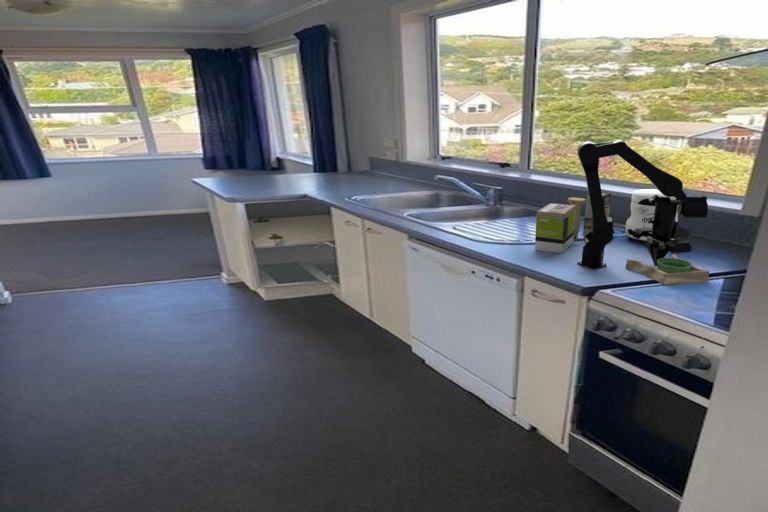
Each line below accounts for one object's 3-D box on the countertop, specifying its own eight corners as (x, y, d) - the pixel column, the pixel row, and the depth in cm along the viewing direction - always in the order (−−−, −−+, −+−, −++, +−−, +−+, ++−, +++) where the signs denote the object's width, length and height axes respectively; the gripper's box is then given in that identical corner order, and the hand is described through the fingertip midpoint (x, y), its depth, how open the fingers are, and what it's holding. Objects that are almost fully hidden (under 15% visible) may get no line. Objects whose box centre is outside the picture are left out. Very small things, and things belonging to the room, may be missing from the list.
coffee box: (598, 237, 184) (603, 196, 179) (582, 235, 188) (586, 194, 183) (607, 232, 190) (612, 192, 185) (591, 230, 194) (595, 191, 189)
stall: (624, 267, 151) (625, 258, 150) (673, 263, 153) (674, 254, 152) (659, 285, 136) (661, 275, 135) (713, 280, 138) (714, 270, 137)
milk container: (655, 249, 168) (662, 199, 162) (613, 238, 183) (619, 191, 177) (687, 242, 175) (695, 193, 169) (644, 231, 190) (650, 186, 184)
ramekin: (693, 282, 137) (695, 268, 136) (657, 280, 140) (660, 265, 139) (685, 272, 145) (688, 258, 144) (652, 270, 148) (654, 256, 147)
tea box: (546, 240, 183) (549, 202, 179) (573, 243, 178) (577, 204, 173) (533, 250, 172) (536, 210, 167) (562, 254, 166) (565, 213, 161)
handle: (568, 234, 190) (571, 197, 185) (584, 237, 185) (587, 199, 181) (562, 236, 187) (565, 199, 182) (578, 239, 182) (581, 201, 178)
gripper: (713, 222, 136) (703, 274, 141) (666, 209, 153) (659, 255, 158) (678, 225, 134) (669, 277, 139) (634, 211, 152) (628, 257, 157)
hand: (656, 266), depth 148 cm, fingers closed
